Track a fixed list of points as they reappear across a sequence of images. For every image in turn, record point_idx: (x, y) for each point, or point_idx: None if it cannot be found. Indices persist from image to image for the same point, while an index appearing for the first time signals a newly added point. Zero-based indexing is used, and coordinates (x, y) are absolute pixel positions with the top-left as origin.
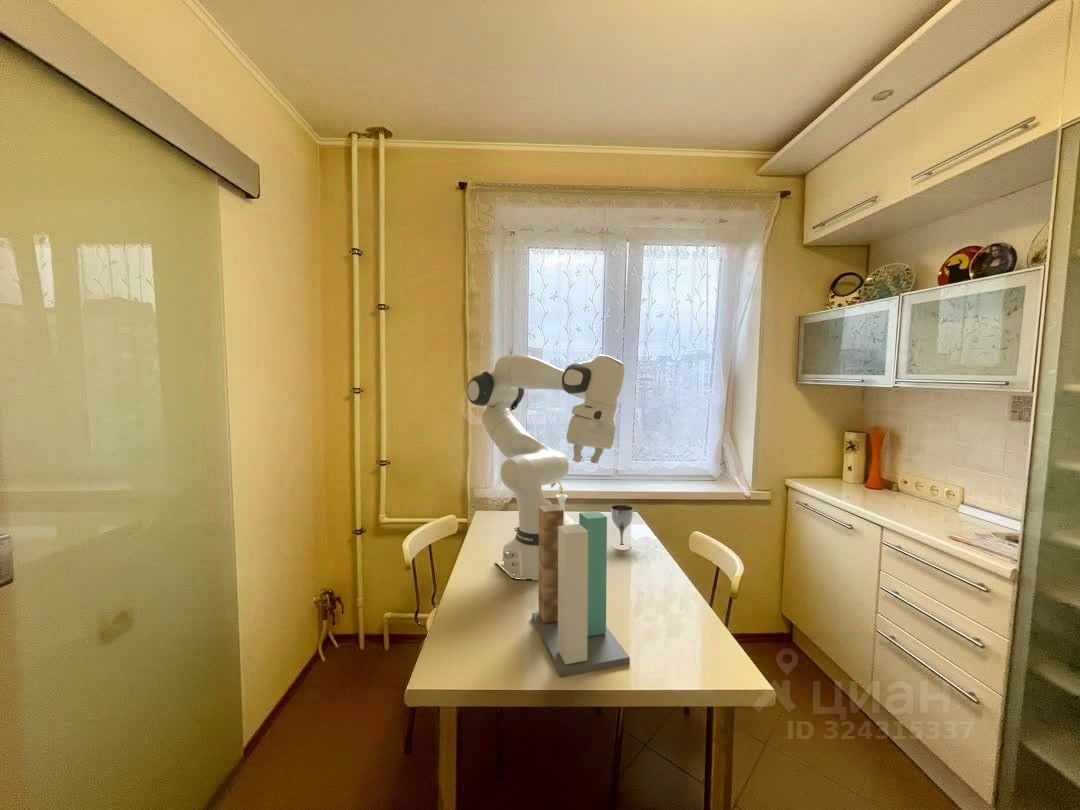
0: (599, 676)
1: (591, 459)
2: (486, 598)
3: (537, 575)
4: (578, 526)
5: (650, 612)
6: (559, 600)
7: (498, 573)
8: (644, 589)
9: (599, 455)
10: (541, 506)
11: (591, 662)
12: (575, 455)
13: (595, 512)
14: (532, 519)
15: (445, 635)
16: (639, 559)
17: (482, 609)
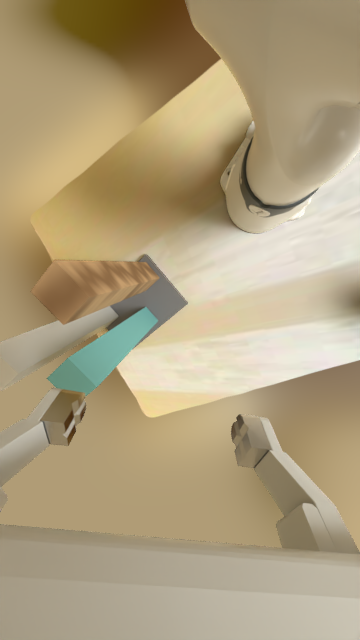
0: None
1: (246, 427)
2: (159, 177)
3: (232, 213)
4: (8, 374)
5: (208, 355)
6: None
7: (232, 140)
8: (254, 345)
9: (267, 486)
10: (55, 268)
11: (109, 329)
12: (32, 420)
13: (85, 384)
14: (252, 158)
15: (82, 186)
16: (351, 328)
17: (137, 190)
